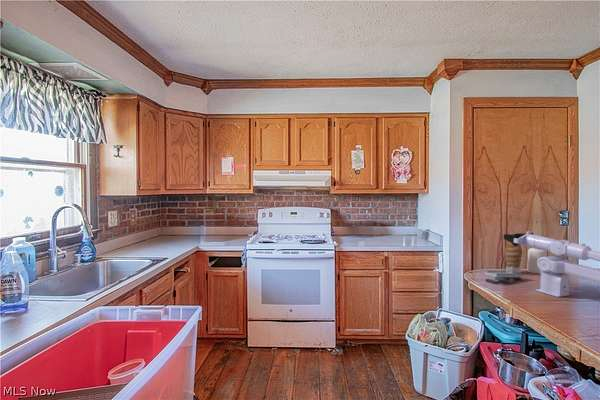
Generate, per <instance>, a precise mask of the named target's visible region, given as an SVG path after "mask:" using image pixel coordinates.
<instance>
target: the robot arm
mask: <svg viewBox="0 0 600 400" xmlns="http://www.w3.org/2000/svg"><path fill="white" fill-rule="evenodd" d="M503 240H504V241H507V242H508V241H509V242H510V243H512V244H513V245H514V246H517V243H519V244H520V246H523V247H527V248H536V249H540V250H544V251H546V252H550V253H552V254H553V255H552V256H551V255H550V256H546V257H540V258H539V259H538V261H537V265H538V268H539V269H540V271H541V274H540V284H539V285H540V286H539V288H537V289H535V292H538V293H542V294H546V295H549V296H553V297H557V298H560V297H565V296H570V295H571V293H570V278H569V276H573V277H576V278H580V279H583V280H587V281H590V282H594V283H597V284H600V268H599V269H598V268H594V267H591V266H587V265H584V264H579V263H574V262H571V260H569V259H566V258H564V257H562V256H561V255H565V257H569V258H573V259H578V260H581V261H587V260H594V261H597V262H600V251H598V250H593V249H592V248H591V247H590V246H588V245H586V243H583V242H582V243H579V244H578V243H575V242H572V241H571V240H567V239H561V240H558V239H554V238H550V237H546V236H540V235H536V234H534V233H533V232H532V231H531V230H530V231H526V232H525V233H513V234H509V233H507V234H506V233H505V234H503Z"/></svg>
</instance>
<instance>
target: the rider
mask: <svg viewBox="0 0 600 400" xmlns="http://www.w3.org/2000/svg"><path fill="white" fill-rule="evenodd" d="M520 270H521V268H520V267H518V268H517V267H515V266H511V267H508V266H505V271H506V272H505V273H520Z"/></svg>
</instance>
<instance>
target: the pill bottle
mask: <svg viewBox="0 0 600 400" xmlns="http://www.w3.org/2000/svg"><path fill="white" fill-rule="evenodd" d="M540 257H547V251H544V250H540V249H536V248H532V247H529V248H528V250H527V263H526V265H527V268H526V270H527V272H529V273H533V274H540V275H541V271H540V269H539V268H538V265H537V261H538V259H539V258H540Z"/></svg>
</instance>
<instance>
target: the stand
mask: <svg viewBox="0 0 600 400" xmlns="http://www.w3.org/2000/svg"><path fill="white" fill-rule="evenodd" d="M498 281H499V282H503V283H507V284H512V283H514V281H523V277H494V279H490V278H485V282H486V283H490V284H493V285H498Z"/></svg>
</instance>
